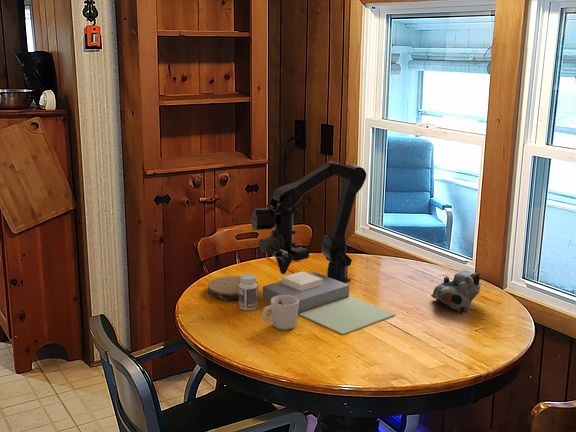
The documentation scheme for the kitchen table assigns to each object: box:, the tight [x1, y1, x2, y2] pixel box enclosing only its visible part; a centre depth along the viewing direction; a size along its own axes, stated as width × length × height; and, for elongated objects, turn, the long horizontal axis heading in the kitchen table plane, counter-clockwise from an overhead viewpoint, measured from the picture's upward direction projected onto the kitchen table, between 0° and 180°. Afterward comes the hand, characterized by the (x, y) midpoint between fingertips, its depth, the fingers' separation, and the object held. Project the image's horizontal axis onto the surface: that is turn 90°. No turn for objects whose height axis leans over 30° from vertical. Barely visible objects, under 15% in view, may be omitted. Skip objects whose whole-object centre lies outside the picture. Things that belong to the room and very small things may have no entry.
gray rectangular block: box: [262, 271, 350, 314], centre depth 217 cm, size 22×16×4 cm
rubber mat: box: [299, 296, 396, 336], centre depth 205 cm, size 22×18×1 cm
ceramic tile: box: [281, 270, 322, 291], centre depth 218 cm, size 9×9×2 cm
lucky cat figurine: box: [430, 270, 482, 314], centre depth 212 cm, size 15×12×14 cm
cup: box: [261, 295, 299, 331], centre depth 194 cm, size 11×8×8 cm
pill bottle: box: [238, 273, 259, 311], centre depth 208 cm, size 6×6×10 cm
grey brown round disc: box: [207, 275, 259, 303], centre depth 221 cm, size 16×16×3 cm
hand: (283, 273), depth 224 cm, fingers closed
